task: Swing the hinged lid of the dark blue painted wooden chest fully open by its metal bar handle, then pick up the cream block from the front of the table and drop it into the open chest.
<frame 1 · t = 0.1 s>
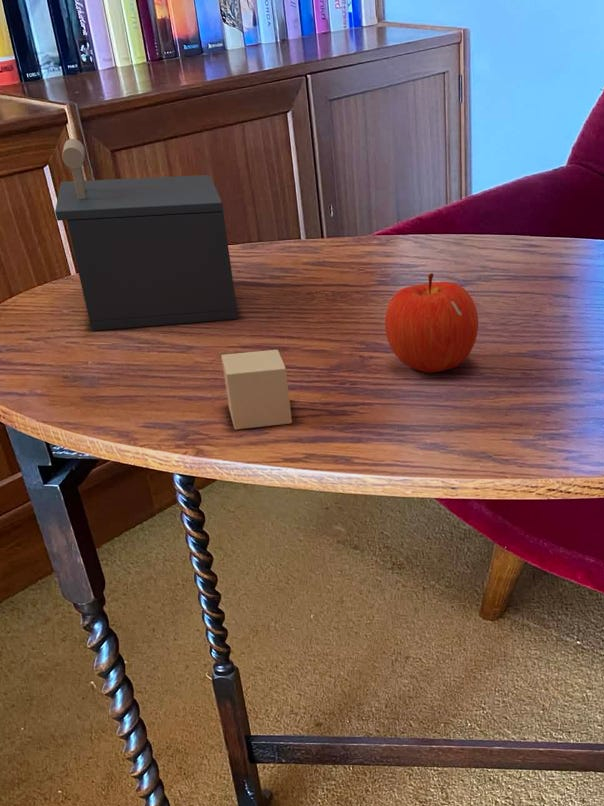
chest: (163, 304, 99), on the table
apple: (432, 368, 85), on the table
block: (260, 415, 76), on the table
lid: (134, 171, 91), point 13 cm above the table, hinge at 0.0°
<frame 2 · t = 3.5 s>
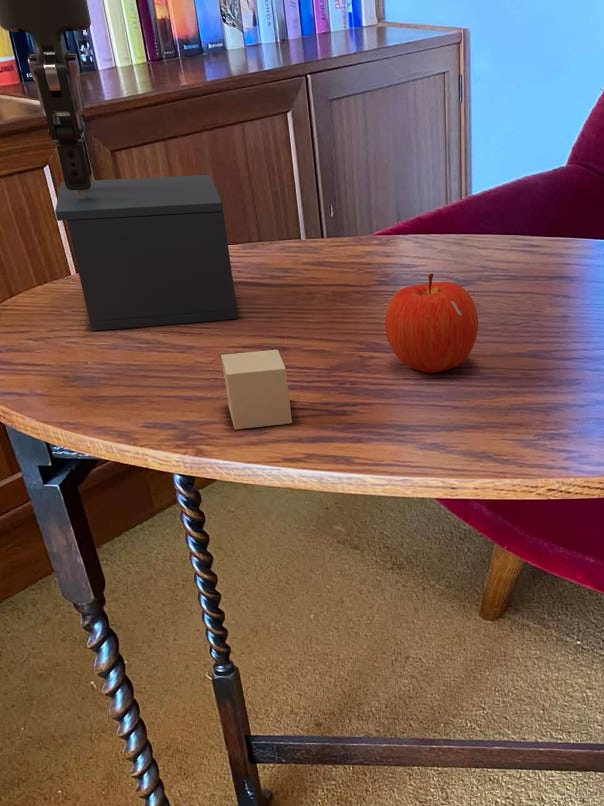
hand: (79, 182, 91), 12 cm above the table, tool pointing down, fingers closed on lid, 5 cm apart
lid: (134, 171, 91), point 13 cm above the table, hinge at -0.1°, touching gripper
everything else where it was.
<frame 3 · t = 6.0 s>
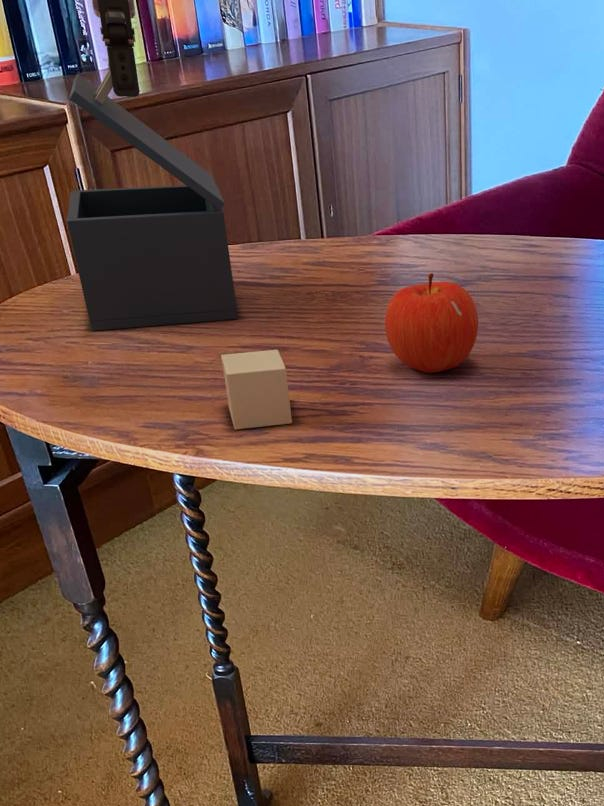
hand: (126, 91, 88), 19 cm above the table, tool pointing down, fingers closed on lid, 5 cm apart
lid: (160, 120, 90), point 17 cm above the table, hinge at 40.1°, touching gripper
everything else where it was.
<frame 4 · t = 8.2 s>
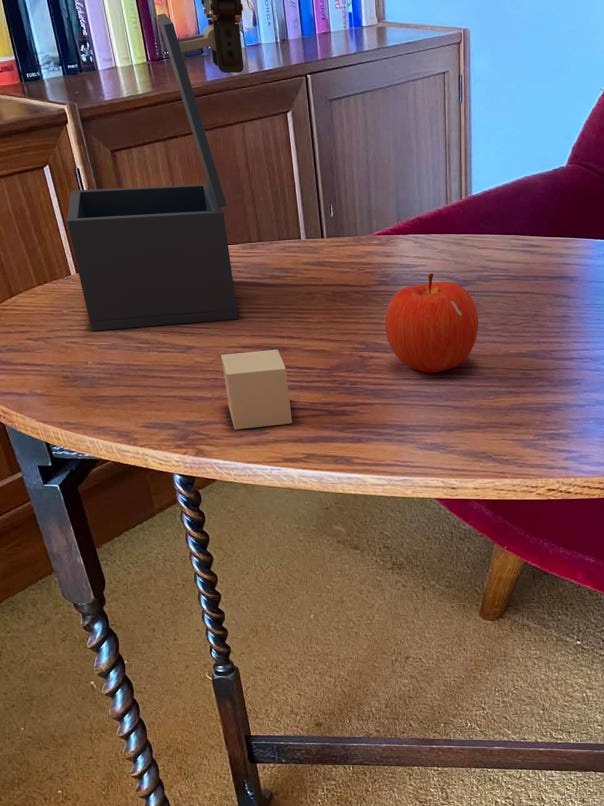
hand: (228, 68, 89), 21 cm above the table, tool pointing down, fingers closed on lid, 5 cm apart
lid: (214, 104, 90), point 18 cm above the table, hinge at 80.5°, touching gripper
everything else where it was.
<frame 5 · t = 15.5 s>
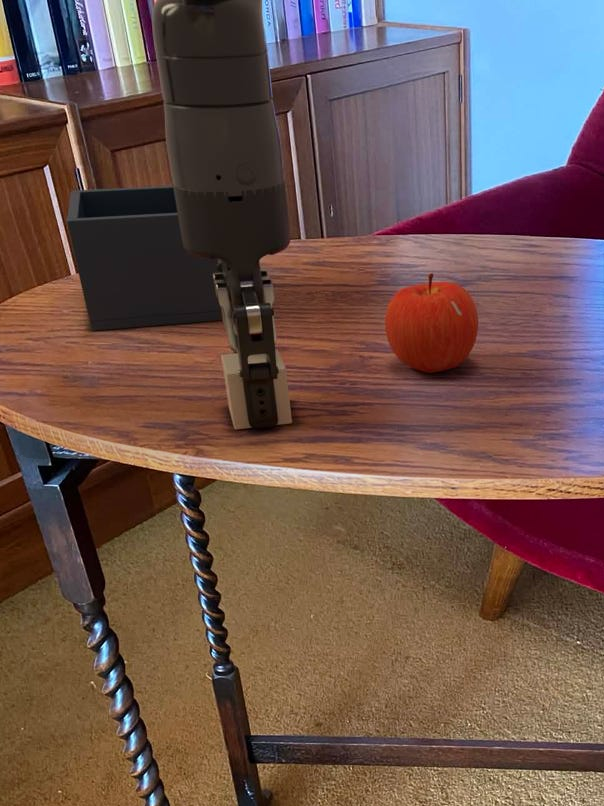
hand: (259, 412, 75), 0 cm above the table, tool pointing down, fingers closed on block, 4 cm apart
block: (260, 415, 76), on the table, touching gripper
lid: (215, 104, 90), point 18 cm above the table, hinge at 81.2°
everything else where it was.
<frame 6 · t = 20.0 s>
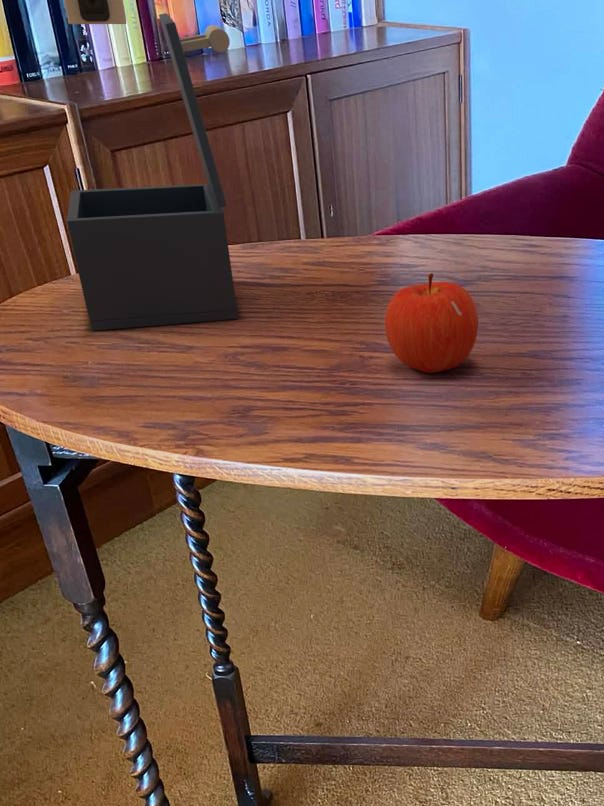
hand: (96, 17, 78), 25 cm above the table, tool pointing down, fingers closed on block, 4 cm apart
block: (98, 22, 79), point 25 cm above the table, touching gripper
everything else where it was.
when the fingers open (9 cm above the table, at t = 25.0 s): block drops 8 cm, resting on chest.
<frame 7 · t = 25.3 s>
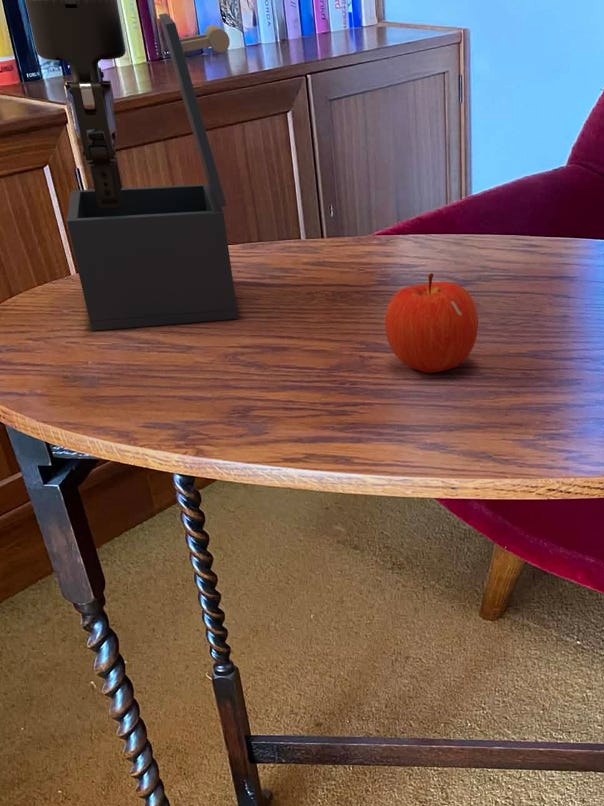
hand: (110, 199, 92), 10 cm above the table, tool pointing down, fingers open, 7 cm apart
block: (131, 297, 98), point 1 cm above the table, touching chest
everything else where it was.
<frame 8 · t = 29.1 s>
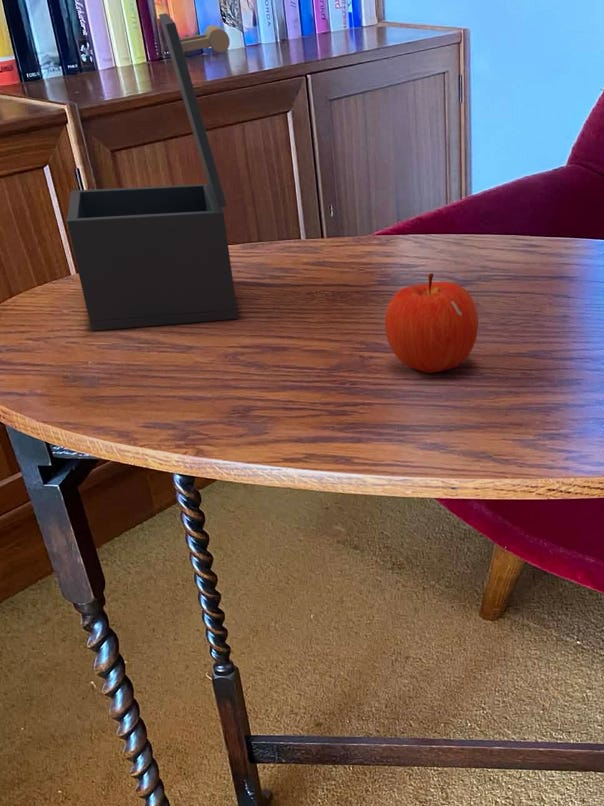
nothing on the table moved.
at the end: lid at +81° (first picture: +0°); block inside the target area in the chest (3.0 cm from its centre), point 0.9 cm above the chest's base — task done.
